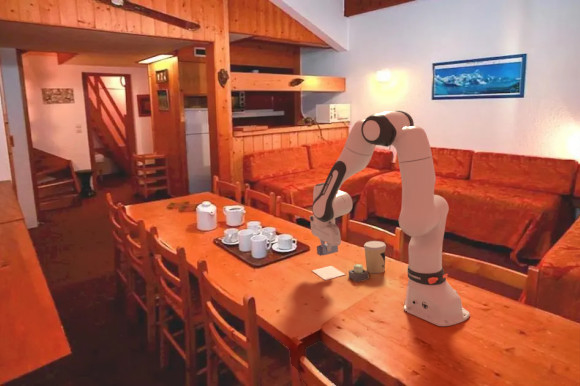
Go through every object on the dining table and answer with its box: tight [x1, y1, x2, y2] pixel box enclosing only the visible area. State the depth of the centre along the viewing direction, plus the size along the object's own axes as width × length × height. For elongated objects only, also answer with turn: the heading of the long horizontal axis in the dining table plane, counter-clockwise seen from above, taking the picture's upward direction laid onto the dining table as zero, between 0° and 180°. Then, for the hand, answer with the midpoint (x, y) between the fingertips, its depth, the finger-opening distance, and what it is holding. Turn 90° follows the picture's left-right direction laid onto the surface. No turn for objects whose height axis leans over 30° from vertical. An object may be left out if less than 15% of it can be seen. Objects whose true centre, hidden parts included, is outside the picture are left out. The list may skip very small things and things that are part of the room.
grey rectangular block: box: [316, 242, 339, 257], centre depth 176 cm, size 9×3×4 cm, turn 115°
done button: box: [353, 263, 364, 274], centre depth 170 cm, size 4×4×4 cm
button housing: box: [348, 268, 370, 283], centre depth 170 cm, size 6×6×3 cm
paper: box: [311, 265, 346, 281], centre depth 178 cm, size 12×10×1 cm
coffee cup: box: [363, 240, 387, 274], centre depth 176 cm, size 9×9×12 cm
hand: (326, 249), depth 176 cm, fingers closed on grey rectangular block, 3 cm apart
